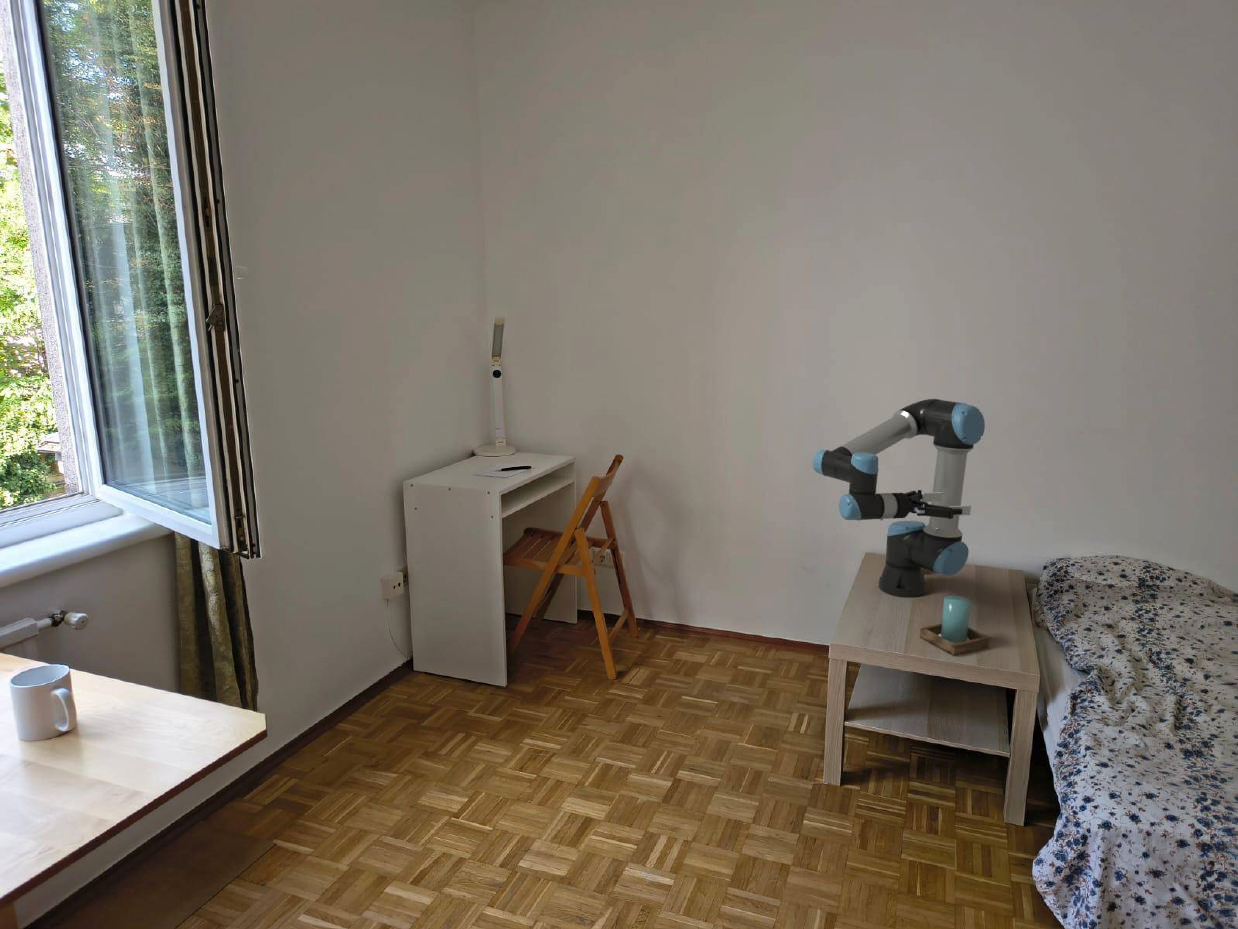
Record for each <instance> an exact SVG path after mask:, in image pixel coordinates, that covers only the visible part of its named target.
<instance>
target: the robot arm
mask: <svg viewBox="0 0 1238 929" xmlns="http://www.w3.org/2000/svg"><path fill="white" fill-rule="evenodd" d="M985 422H986V421H985V418H984V414H983V413H982V412H981V411H980V409H979V408H978V407H976V406H974V405H971V404H967V403H963V402H958V401H951V400H945V399H938V398H928V399H924V400H923V399H922V400H919V401H917V402H912V403H911V404H909V405H907V406H904V407H902V408H901V409H899V410H896V411H895V412H894V413H893V415H892V417H891V418H888V419H887V420H885V421H883V422H881V423H879V424H878V425H876V426H875V427H874V428H871V429H870V430H868V431H865V432H864V433H862V434H861V435H859V436H856V437H855V438H853V439H850V440H849V441H848V442H846V443H844V444H842V445H840V446H839V447H836V448H835V449H833V450H830V449H820V450H818V451H817V452H816V453H815V454H814V456H813V459H812V467H813V469H814V471H815V472H816V473H817V474H820V475H822V476H824V477H827V478H828V477H829V478H831V479H835V480H839V481H842V482H845V483H849V487H848V493H846V494H843V495H842V496H841V497H840V498H839V501H838V512H839V515H840V516H841V517H842V518H843V520H846V521H859V522H860V521H867V520H879V521H883V520H886V519H888V520H890V519H906V517H907V516H908V515H909V514H916V516H918V517H929V521H928V524H927V525H926V523H925V522H923V521H918V520H898V521H894V522H892V523H890V524H889V526H888V530H887V535H886V548H885V549H886V551H885V564H884V565H885V566H884V567H883V570H882V573H881V576H879V579H878V589H880V591H881V592H884V593H886V594H888V595H892V596H896V597H903V598H914V597H920V596H923V595H925V594H926V592H927V582H926V578H925V575H924V570H922V567H923V569H926V570H928V571H931V572H934V573H935V574H937V575H943V576H946V577H949V576H953V575H957V573H959V572H960V571H961V570H962V569H963V568H964V566H965V564H966V563H967V561H968V557H969V552H970V551H969V547H968V545H967V544H966V543H965V542H964V541H963V540H962V539H963V532H962V531H961V530H960V529H959V520H960V516H970V515H971V512H972V511H971V510H972V505H971V504H970V505H969V504H968V505H967V504H966V505H962V498H963V489H964V482H965V474H966V467H967V466H966V465H967V458H968V453H969V452H971V451H972V450H974V445H975V444H978V442H980V440H982V437H983V436H984V433H985V429H986V428H985V427H986V426H985V425H986V423H985ZM916 436H928V437H929V436H930V437H933V441H932V445H933V446H934V448H935V449H936V450H937V453H936V461H935V470H934V479H933V486H932V492H922V489H917V490H912V491H908V492H883V493H882V492H881V493H880V492H879V493H876V492H877V484H878V476H879V456H877V455H878V454H880V453H881V452H883V451H885V450H886V449H888V448H890V447H892V446H894V445H895V444H898V443H899V442H901V441H903V440H904V439H907V440H909V439H912V438H915V437H916ZM930 502H931V503H930Z"/></svg>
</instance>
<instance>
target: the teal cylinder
mask: <svg viewBox="0 0 1238 929" xmlns="http://www.w3.org/2000/svg"><path fill="white" fill-rule="evenodd" d="M971 603H972V602H971V600H970V599H969V598H966V597H964V596H959V595H947V596H944V599H943V607H942V608H943V609H942V617H941V618H942V619H941V620H942V621H941V623H942V628H941V637H942V638H944V639H946V640H948V641H950V642H951V643H953V644H957V643H961V642H965V641H967V633H968V627H969V621H970V611H971Z"/></svg>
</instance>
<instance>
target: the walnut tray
mask: <svg viewBox="0 0 1238 929" xmlns="http://www.w3.org/2000/svg"><path fill="white" fill-rule="evenodd" d="M941 628H942V622H941V623H938V624H933V625H928V626H924V627H920V633H919V638H920V639H922V640H923V641H925V642H927V643H929V644H931V645H932V646H934V647H936V648H938V649H940V650H942V651H943V652H946V653H947V654H948V655H951V656H953V657H955V656H959V654H960V655H965V654H968V653H972V652H976V651H980V650H983V649H987V648H989V645H990V644H989V643H990V637H989V636H987V635H984V634H983V633H981V632H979V631H977V630H974V629H973V628H972V627H969V626H968V633H967V637H968V638H969V639H970V640H969V641H965V642H961V643H957V644H953V643H951V642H950V641H948V640H946V639H944V638H942V637H940V636H938V635H939V634H941Z"/></svg>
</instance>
